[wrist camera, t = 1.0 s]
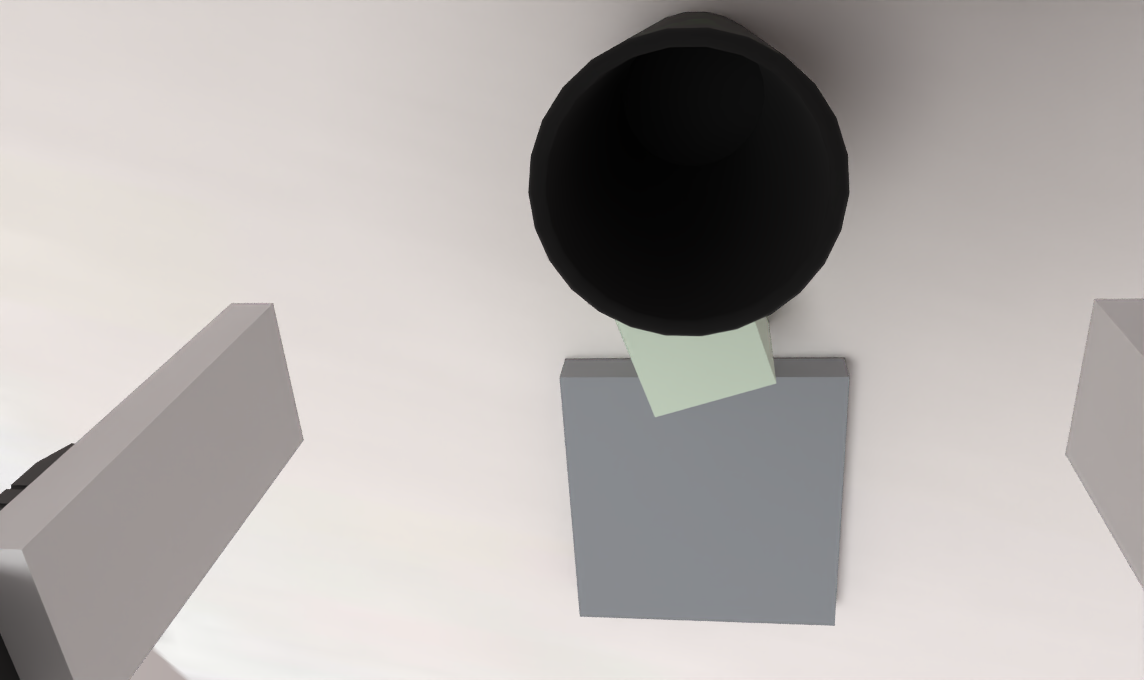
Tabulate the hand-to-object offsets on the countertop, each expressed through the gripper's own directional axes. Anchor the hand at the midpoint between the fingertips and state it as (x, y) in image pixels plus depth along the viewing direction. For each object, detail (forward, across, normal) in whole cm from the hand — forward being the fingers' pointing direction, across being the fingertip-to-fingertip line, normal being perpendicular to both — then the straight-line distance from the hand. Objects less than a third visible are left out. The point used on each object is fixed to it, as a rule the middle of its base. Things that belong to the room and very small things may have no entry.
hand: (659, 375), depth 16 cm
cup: (+21, 0, 0) cm, 21 cm away
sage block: (+20, 0, -7) cm, 22 cm away
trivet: (+20, 0, -16) cm, 26 cm away
